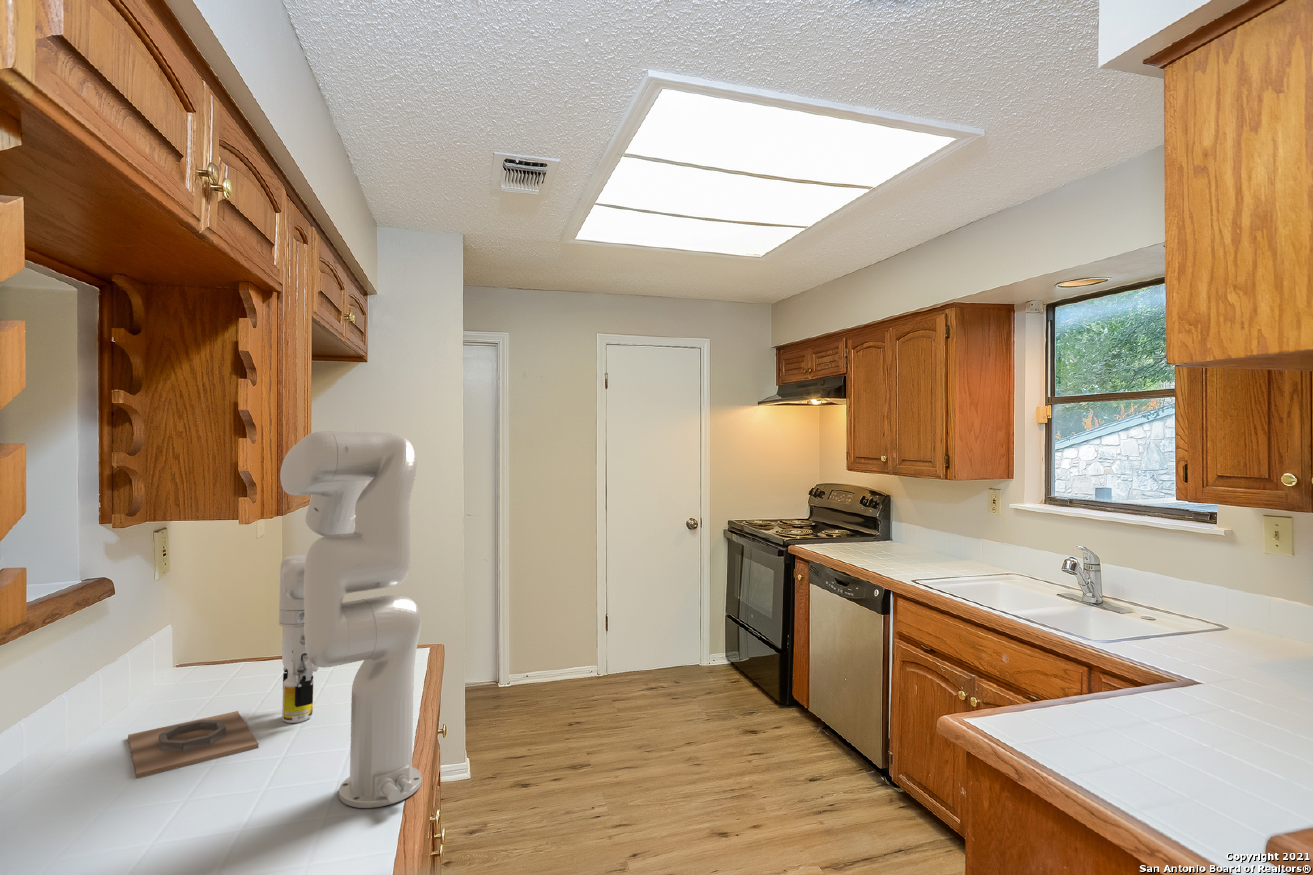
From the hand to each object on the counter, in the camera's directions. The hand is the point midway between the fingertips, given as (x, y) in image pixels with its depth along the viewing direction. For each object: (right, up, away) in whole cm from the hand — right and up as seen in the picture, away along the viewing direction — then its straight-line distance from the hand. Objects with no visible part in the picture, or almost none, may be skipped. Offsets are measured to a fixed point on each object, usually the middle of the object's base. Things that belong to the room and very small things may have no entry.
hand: (297, 697), depth 138 cm
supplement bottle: (0, -4, 0) cm, 4 cm away
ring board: (-13, -4, -12) cm, 18 cm away
